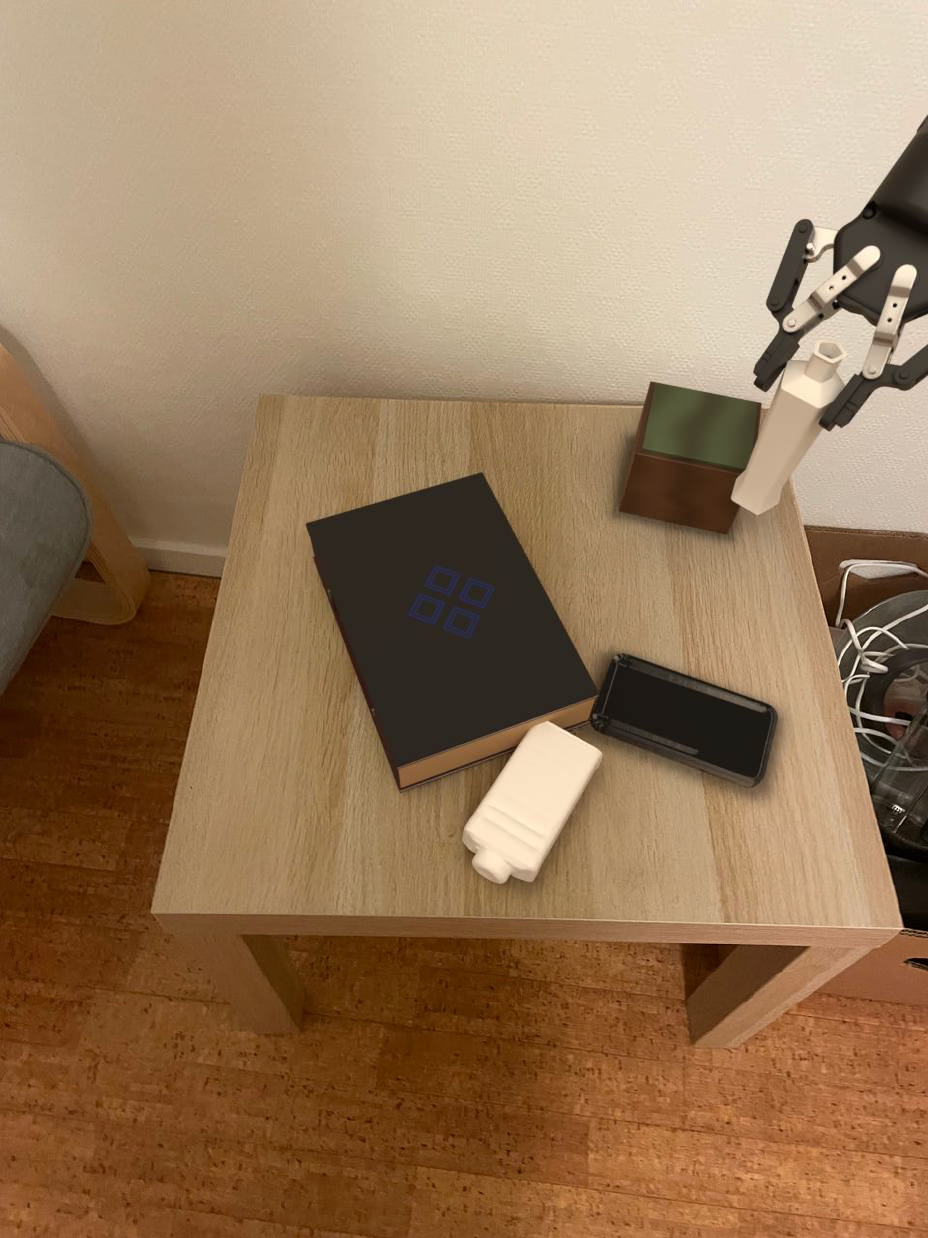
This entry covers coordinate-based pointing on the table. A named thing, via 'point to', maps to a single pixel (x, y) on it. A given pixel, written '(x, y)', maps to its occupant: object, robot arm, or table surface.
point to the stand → (690, 456)
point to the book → (447, 629)
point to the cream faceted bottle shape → (790, 425)
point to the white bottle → (529, 803)
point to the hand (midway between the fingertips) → (791, 406)
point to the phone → (686, 719)
